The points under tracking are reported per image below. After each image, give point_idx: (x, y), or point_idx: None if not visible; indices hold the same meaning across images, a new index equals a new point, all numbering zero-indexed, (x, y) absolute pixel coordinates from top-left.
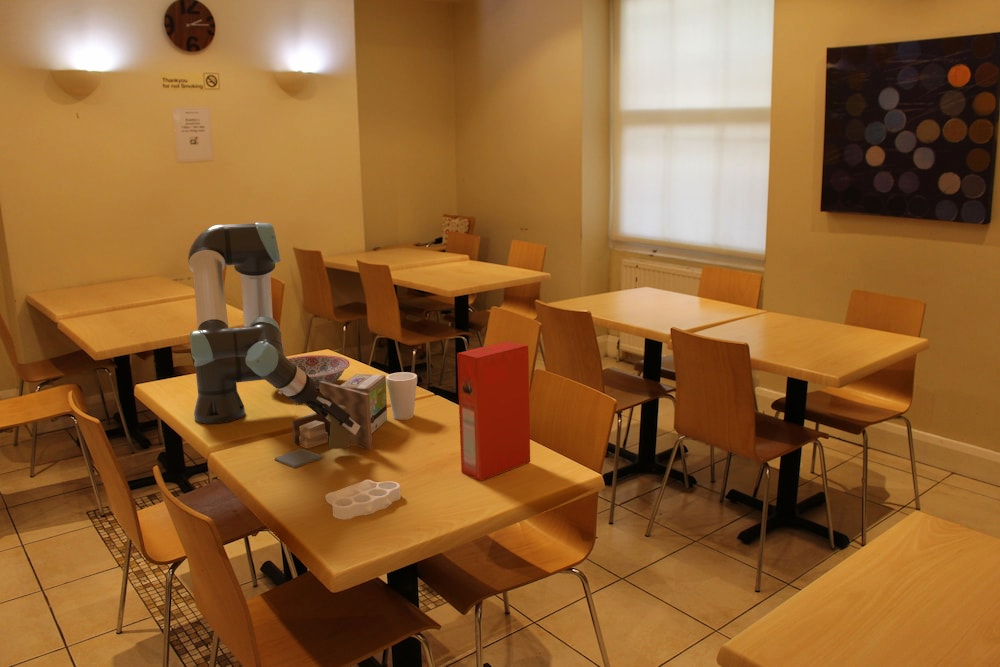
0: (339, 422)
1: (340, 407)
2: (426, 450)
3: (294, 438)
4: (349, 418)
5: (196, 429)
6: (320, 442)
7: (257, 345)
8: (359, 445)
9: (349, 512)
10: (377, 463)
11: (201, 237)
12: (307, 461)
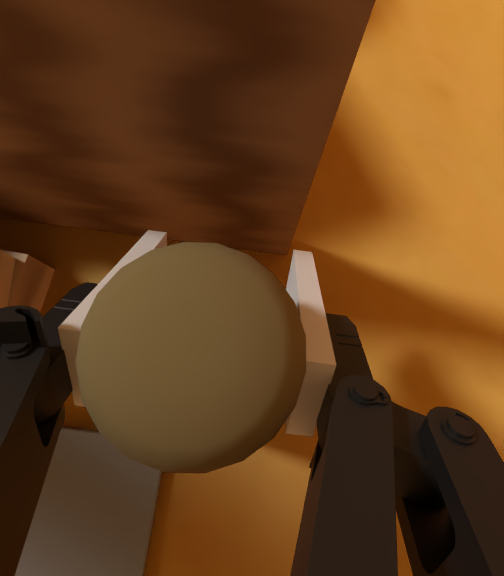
0: (286, 430)
1: (239, 347)
2: (475, 149)
3: None
4: (324, 329)
5: None
6: (35, 307)
7: None
8: (223, 244)
9: None
10: (430, 350)
11: None
12: (148, 543)
